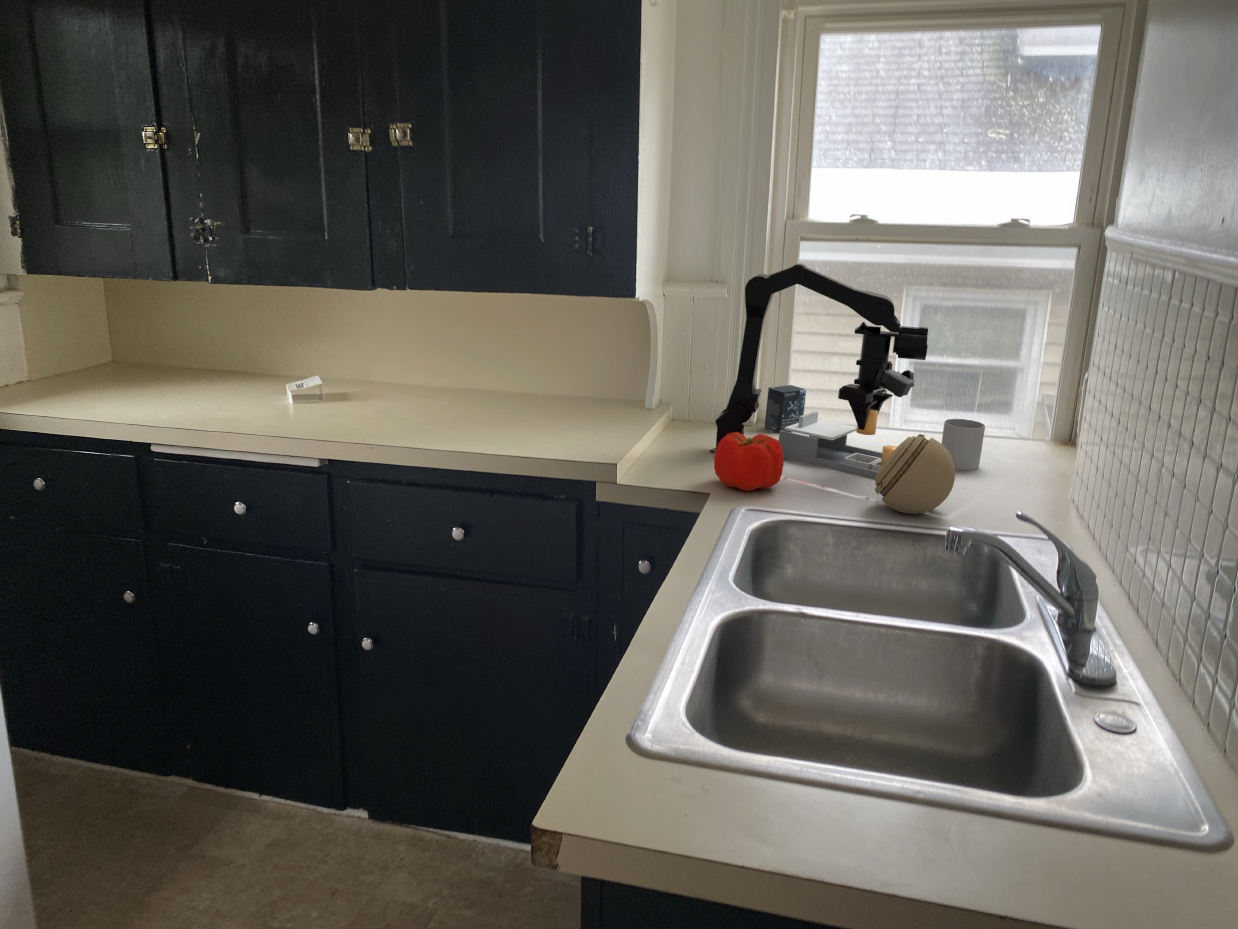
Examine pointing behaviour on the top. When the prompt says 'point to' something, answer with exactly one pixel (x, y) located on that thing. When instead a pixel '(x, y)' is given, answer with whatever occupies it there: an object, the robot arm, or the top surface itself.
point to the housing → (830, 453)
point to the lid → (820, 427)
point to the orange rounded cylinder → (870, 423)
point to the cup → (963, 442)
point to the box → (784, 407)
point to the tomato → (749, 461)
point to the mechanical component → (916, 476)
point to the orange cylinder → (887, 453)
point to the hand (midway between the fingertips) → (865, 427)
